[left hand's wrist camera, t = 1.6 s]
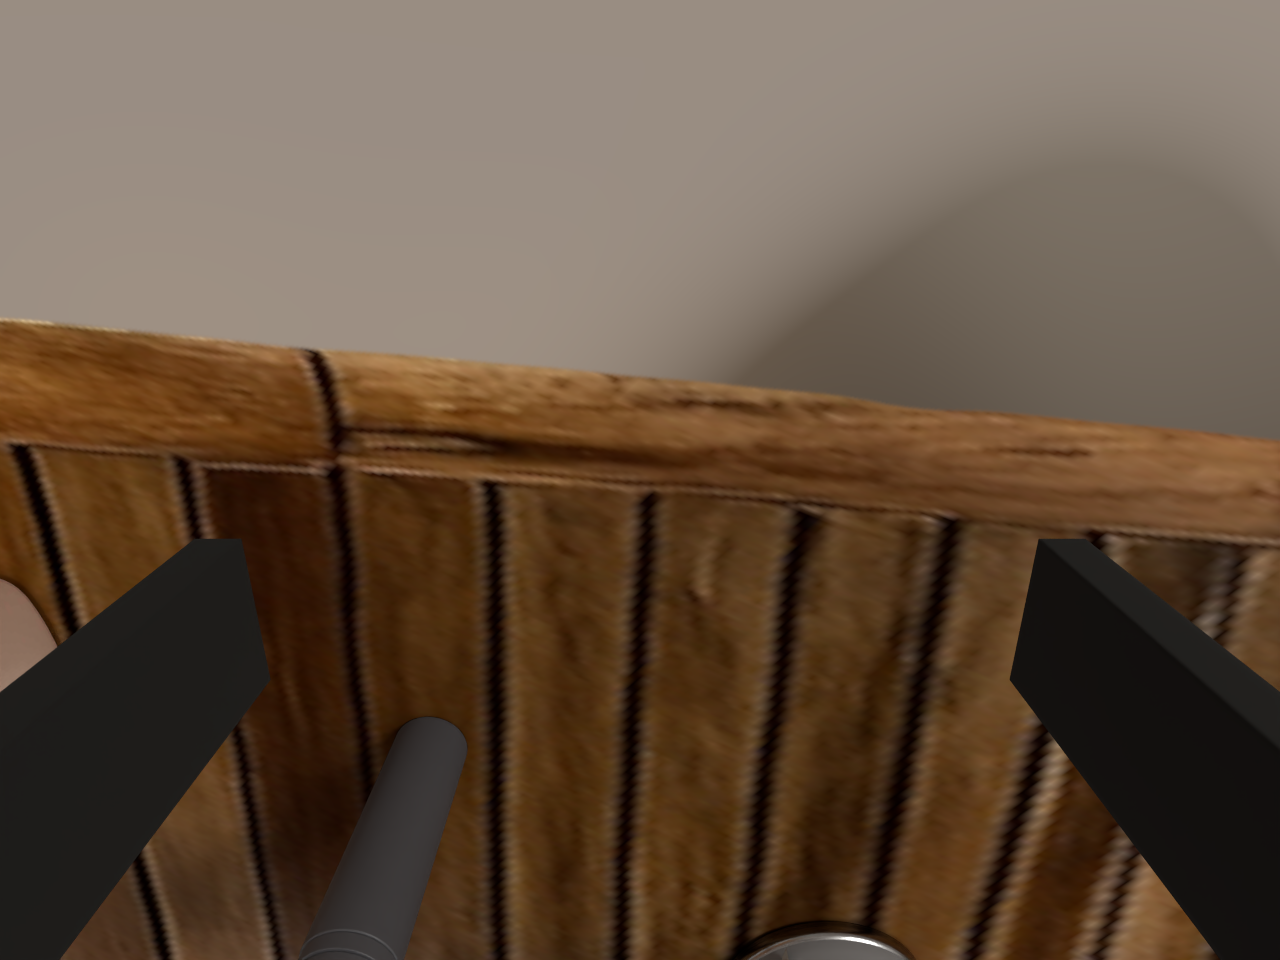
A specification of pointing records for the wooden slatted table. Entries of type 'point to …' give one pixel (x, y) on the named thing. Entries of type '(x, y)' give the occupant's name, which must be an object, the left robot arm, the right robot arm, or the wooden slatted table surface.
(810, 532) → the wooden slatted table surface
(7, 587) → the anatomical model
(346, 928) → the bottle
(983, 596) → the wooden slatted table surface
